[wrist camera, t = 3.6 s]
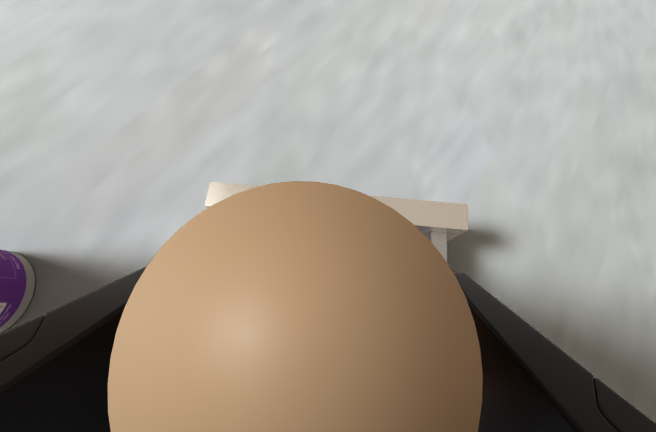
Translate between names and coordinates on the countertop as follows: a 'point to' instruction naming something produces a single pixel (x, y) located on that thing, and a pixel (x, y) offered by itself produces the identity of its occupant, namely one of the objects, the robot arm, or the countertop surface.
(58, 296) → the countertop surface
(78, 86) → the countertop surface
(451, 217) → the slide base
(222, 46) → the countertop surface
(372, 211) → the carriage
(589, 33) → the countertop surface
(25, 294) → the container
